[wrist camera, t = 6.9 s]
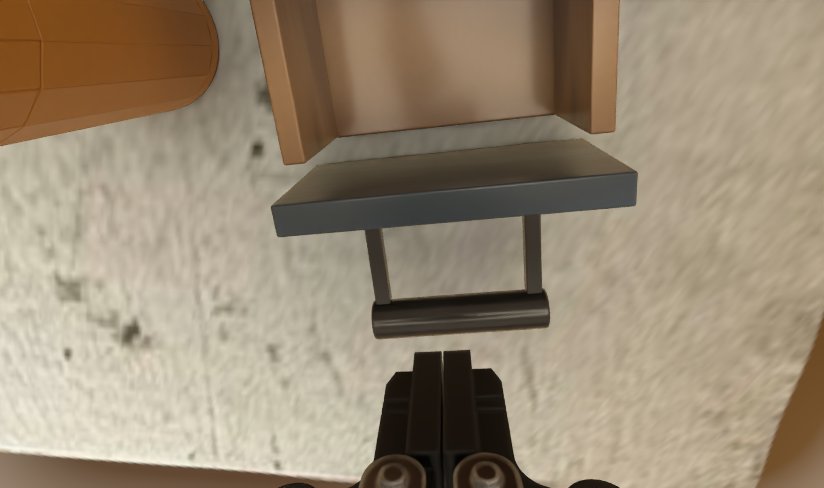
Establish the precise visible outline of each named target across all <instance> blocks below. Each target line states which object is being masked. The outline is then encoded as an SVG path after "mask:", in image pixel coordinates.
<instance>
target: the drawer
mask: <svg viewBox="0 0 824 488" xmlns="http://www.w3.org/2000/svg"><path fill="white" fill-rule="evenodd" d="M619 3H620V0H250V4H251V9H252V14H253V19H254V24H255V28H256V33H257V38H258V43H259V48H260V53H261V57H262V62H263V67H264V72H265V77H266V82H267V87H268V91H269V96H270V101H271V106H272V111H273V116H274V120H275V125H276V130H277V135H278V140H279V145H280V149H281V154H282V159H283V163H284V165H294V164H303V163H306V162H307V161H308V160H310V159H311V158H312V157H313V156H315V155H316V154H317V153H318V152H320V151H321V150H322V149H323V148H325V147H326V146H327V145H328V144H330V143H331V142H332V141H334V140H335V139H336V138H339V137H349V136H358V135H367V134H377V133H386V132H396V131H405V130H415V129H424V128H433V127H443V126H452V125H462V124H471V123H480V122H490V121H499V120H509V119H518V118H528V117H537V116H546V115H557V116H558V117H560V118H562V119H564V120H566V121H568V122H569V123H571V124H573V125H575V126H577V127H579V128H580V129H582V130H584V131H586V132H588V133H590V134H599V133H609V132H614V131H615V123H616V93H617V63H618V33H619ZM637 177H638V173H637V171H635V170H633V169H632V168H630V167H629V166H627V165H625V164H624V163H622V162H620V161H619V160H617V159H615V158H614V157H612V156H610V155H609V154H607V153H606V152H604V151H602V150H601V149H599V148H597V147H596V146H594V145H592V144H591V143H589V142H587V141H586V140H584V139H582V138H581V139H571V140H561V141H551V142H542V143H532V144H522V145H512V146H502V147H492V148H482V149H472V150H462V151H453V152H443V153H433V154H423V155H413V156H403V157H393V158H383V159H373V160H364V161H354V162H344V163H334V164H324V165H317V166H316V167H315V168H314V169H312V170H311V171H310V172H309V173H308V174H307V175H306V176H304V177H303V178H302V179H301V180H300V181H299V182H298V183H297V184H295V185H294V186H293V187H292V188H291V189H290V190H289V191H288V192H286V193H285V194H284V195H283V196H282V197H281V198H280V199H278V200H277V201H276V202H275V203H274V204H273V205H272V206H271V211H272V215H273V220H274V224H275V229H276V233H277V236H278V237H288V236H299V235H311V234H322V233H333V232H345V231H356V230H365V236H366V242H367V248H368V255H369V261H370V268H371V274H372V281H373V287H374V294H375V301H374V302H373V305H372V328H373V333H374V336H375V338H376V339H389V338H405V337H420V336H435V335H450V334H465V333H481V332H496V331H511V330H526V329H542V328H548V327H549V324H550V308H549V301H548V296H547V293H546V291H545V289H543V288H542V263H541V215H540V214H551V213H562V212H574V211H585V210H596V209H608V208H619V207H631V206H635V205H636V197H637ZM516 216H522V222H523V251H524V280H525V289H523V290H510V291H496V292H483V293H469V294H455V295H442V296H428V297H414V298H401V299H391V298H392V295H391V288H390V281H389V274H388V267H387V260H386V253H385V246H384V239H383V232H382V228H391V227H402V226H413V225H425V224H436V223H448V222H459V221H471V220H482V219H494V218H505V217H516Z"/></svg>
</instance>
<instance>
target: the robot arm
mask: <svg viewBox="0 0 824 488" xmlns="http://www.w3.org/2000/svg"><path fill="white" fill-rule="evenodd" d="M279 488H314V487H313V486H311V485H309V484H304V483H291V484H287V485H284V486H281V487H279ZM349 488H549V487H546V486H543V485H540V484H538V483H536V482H534V481H533V480H531V479H530V478H528V477H527V476H526V475H525V474H524V473H523V472H522V471H521V470H520V469H519V467H518V466H517V464H516V461H515V458H514V454H513V448H512V442H511V436H510V430H509V424H508V418H507V412H506V406H505V400H504V394H503V388H502V382H501V380H500V379H499V377H498V376H497V375H496V374H495V372H494V371H493V370H492V369H491V368H488V369H472V366H471V355H470V350H458V351H444V352H443V362H442V352H441V351H435V352H415V354H414V364H413V371H409V372H396V373H395V374H394V375H393V377H392V378H391V379H390V381H389V382H388V383H387V385H386V389H385V395H384V402H383V408H382V415H381V420H380V426H379V432H378V438H377V444H376V450H375V456H374V461H373V462H372V463H371V464H370V465H369V466H368V467H367V468H366V469H365V471H364V473H363V475H362V477H361V480H360V481H359V482H358V483H356V484H355V485H353V486H351V487H349ZM569 488H619V487H618V486H616V485H613V484H611V483H609V482H606V481H602V480H595V479H587V480H582V481H578V482H576V483H574V484H572V485H571V486H570V487H569Z"/></svg>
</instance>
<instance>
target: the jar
mask: <svg viewBox="0 0 824 488" xmlns="http://www.w3.org/2000/svg"><path fill="white" fill-rule="evenodd" d="M217 62H218V39H217V33H216V29H215V26H214V22H213V20H212V18H211V15H210V13H209V11H208V9H207V7H206V6H205V4H204V2H203V1H202V0H0V146H4V145H8V144H13V143H18V142H23V141H28V140H32V139H37V138H42V137H47V136H51V135H56V134H61V133H66V132H71V131H75V130H80V129H85V128H90V127H95V126H99V125H104V124H109V123H114V122H119V121H123V120H128V119H133V118H138V117H143V116H147V115H152V114H157V113H162V112H167V111H171V110H175V109H177V108H180V107H183V106H186V105H188V104H190V103H192V102H193V101H195V100H196V99H197V98H199V97H200V96H201V95H202V94H203V93H204V92H205V90H206V89H207V88H208V86H209V85H210V83H211V81H212V79H213V77H214V74H215V71H216V67H217Z"/></svg>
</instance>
